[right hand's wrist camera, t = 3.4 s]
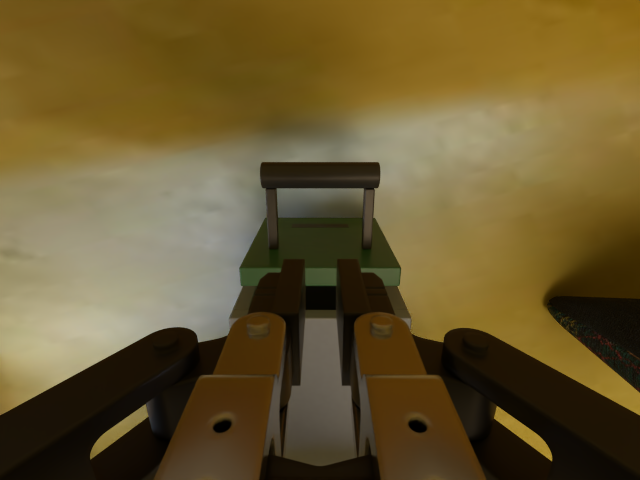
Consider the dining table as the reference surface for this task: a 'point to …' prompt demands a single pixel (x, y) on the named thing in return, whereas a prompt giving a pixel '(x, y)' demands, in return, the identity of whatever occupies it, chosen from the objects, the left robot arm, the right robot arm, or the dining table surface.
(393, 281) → the drawer
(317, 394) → the cabinet
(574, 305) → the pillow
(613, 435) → the right robot arm
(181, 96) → the dining table surface
